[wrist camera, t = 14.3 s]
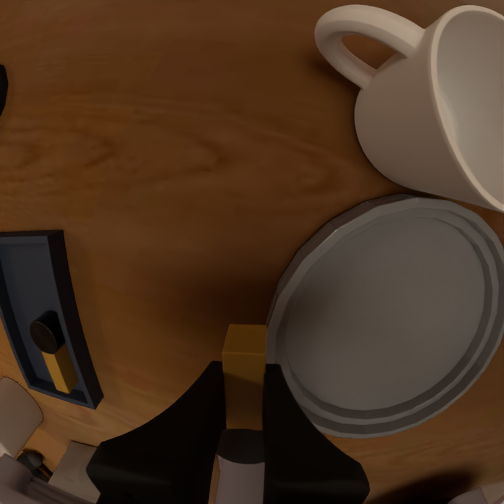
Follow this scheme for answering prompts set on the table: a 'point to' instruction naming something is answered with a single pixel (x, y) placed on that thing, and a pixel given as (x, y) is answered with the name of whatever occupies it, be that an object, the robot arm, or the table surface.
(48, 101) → the table surface
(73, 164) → the table surface
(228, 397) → the key
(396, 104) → the mug
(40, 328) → the key
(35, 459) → the gaming controller
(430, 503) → the ball
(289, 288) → the round grey plant saucer
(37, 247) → the tray
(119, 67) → the table surface
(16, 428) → the pill bottle
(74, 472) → the cosmetics box
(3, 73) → the computer mouse
